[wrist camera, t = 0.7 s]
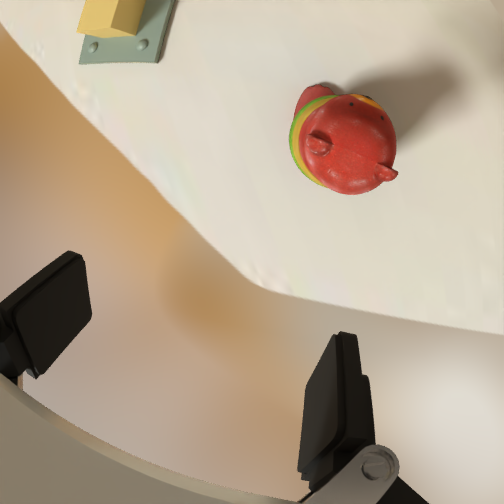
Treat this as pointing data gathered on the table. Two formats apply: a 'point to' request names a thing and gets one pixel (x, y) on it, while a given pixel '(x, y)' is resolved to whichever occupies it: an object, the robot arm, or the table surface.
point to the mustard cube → (111, 18)
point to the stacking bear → (342, 141)
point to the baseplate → (132, 39)
